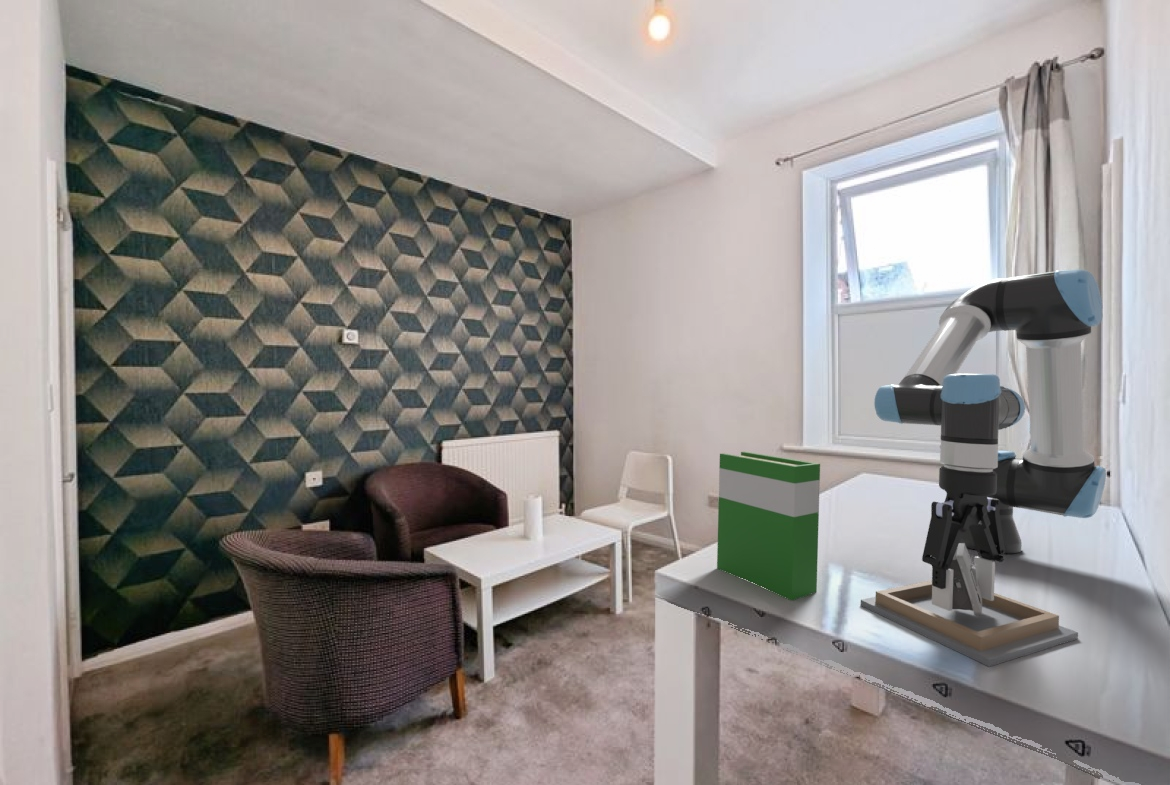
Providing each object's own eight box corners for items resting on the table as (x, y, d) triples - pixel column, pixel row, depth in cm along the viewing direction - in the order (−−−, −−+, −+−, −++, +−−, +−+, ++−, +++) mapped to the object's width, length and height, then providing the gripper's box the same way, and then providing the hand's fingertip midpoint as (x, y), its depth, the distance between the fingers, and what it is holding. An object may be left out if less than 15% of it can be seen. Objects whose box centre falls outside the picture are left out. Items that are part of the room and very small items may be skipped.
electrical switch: (982, 618, 77) (976, 557, 77) (940, 611, 80) (936, 553, 80) (982, 599, 84) (977, 543, 84) (944, 593, 87) (940, 540, 88)
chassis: (943, 588, 95) (943, 572, 95) (1077, 638, 77) (1078, 619, 77) (860, 605, 87) (861, 588, 87) (989, 666, 69) (989, 645, 68)
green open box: (717, 568, 104) (719, 453, 103) (741, 562, 107) (743, 451, 107) (791, 600, 89) (795, 466, 88) (816, 592, 92) (820, 463, 92)
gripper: (985, 461, 89) (980, 584, 90) (898, 467, 81) (893, 602, 81) (1035, 468, 82) (1031, 601, 83) (946, 475, 74) (941, 623, 74)
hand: (963, 602), depth 82 cm, fingers closed on electrical switch, 10 cm apart
